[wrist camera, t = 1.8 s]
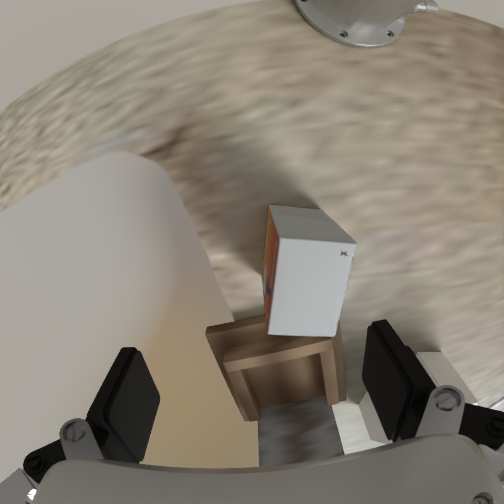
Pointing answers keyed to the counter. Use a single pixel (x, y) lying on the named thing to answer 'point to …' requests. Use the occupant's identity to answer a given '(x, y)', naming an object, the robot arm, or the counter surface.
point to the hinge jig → (283, 388)
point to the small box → (304, 271)
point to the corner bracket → (440, 376)
